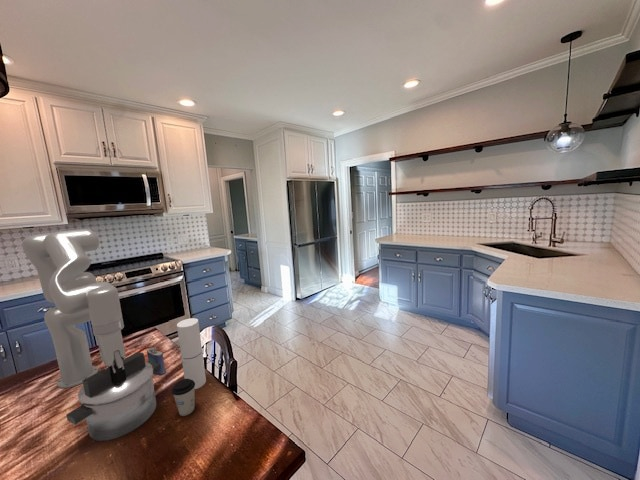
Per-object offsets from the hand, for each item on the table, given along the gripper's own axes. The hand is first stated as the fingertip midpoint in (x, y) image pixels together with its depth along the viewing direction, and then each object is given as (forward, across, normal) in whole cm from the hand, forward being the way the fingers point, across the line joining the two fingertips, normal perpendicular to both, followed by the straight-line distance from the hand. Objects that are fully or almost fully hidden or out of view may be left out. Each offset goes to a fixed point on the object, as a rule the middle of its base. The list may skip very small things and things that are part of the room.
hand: (118, 378), depth 85 cm
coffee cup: (+14, +15, +14) cm, 24 cm away
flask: (+14, -17, +15) cm, 27 cm away
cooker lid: (+2, 0, 0) cm, 2 cm away
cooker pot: (+14, 0, 0) cm, 14 cm away
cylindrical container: (+14, +4, +22) cm, 26 cm away
